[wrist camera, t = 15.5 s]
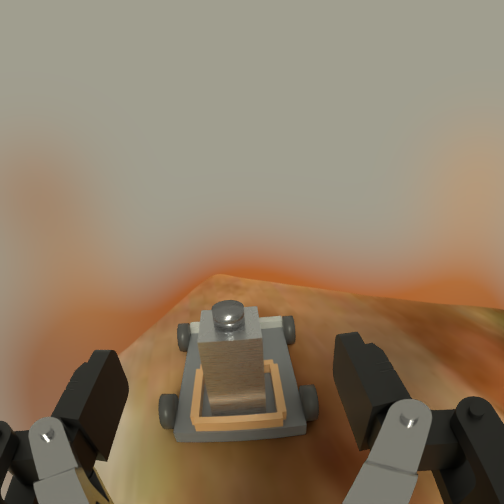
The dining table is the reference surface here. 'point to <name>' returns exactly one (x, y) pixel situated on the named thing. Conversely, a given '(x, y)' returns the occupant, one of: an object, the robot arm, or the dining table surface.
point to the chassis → (242, 426)
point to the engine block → (232, 359)
